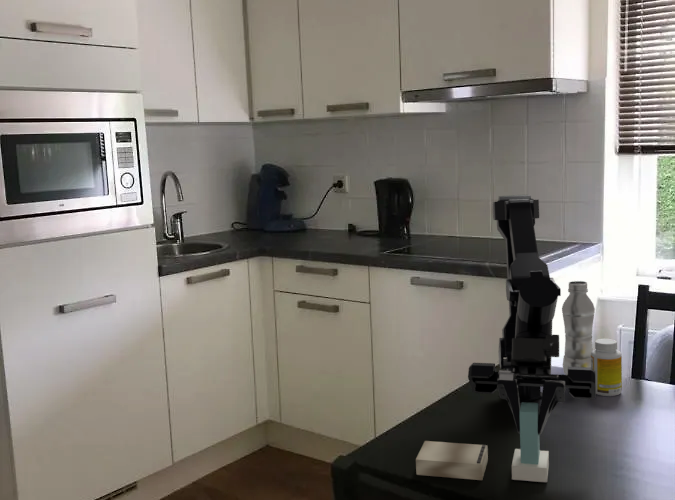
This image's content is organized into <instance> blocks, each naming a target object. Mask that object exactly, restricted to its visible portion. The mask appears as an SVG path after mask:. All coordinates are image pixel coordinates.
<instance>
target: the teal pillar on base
mask: <svg viewBox="0 0 675 500" xmlns="http://www.w3.org/2000/svg"><path fill="white" fill-rule="evenodd" d="M539 412H540V404H539V402H522V403H520V433H519V441H520V444H519V445H520V448H514V453H513V457H512V463H511V480H514V481H526V482H527V481H528V482H536V483H537V482H538V483H548V477H549V467H550V461H549V460H550V458H549V457H550V455H549V454H550V451H549V450H541V448H540V447H541V446H540V443H541V442H540V435H538V418H539Z"/></svg>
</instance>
